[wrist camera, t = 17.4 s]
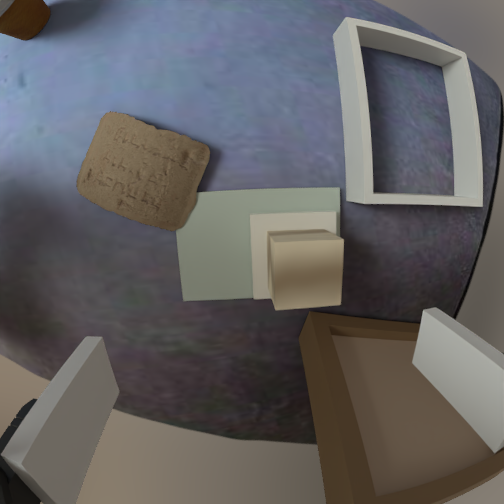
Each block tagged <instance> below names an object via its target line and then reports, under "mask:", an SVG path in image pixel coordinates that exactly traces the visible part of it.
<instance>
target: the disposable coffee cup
mask: <svg viewBox="0 0 504 504" xmlns="http://www.w3.org/2000/svg"><path fill="white" fill-rule="evenodd" d="M49 17H50V9H49V7H48V6H47V5H46V4H45V2H44V1H43V0H0V33H2V34H6V35H9V36H12V37H15V38H18V39H21V40H28V39H31V38H32V37H34V36H35V35H37V34H38V33H39V32H40V31H41V30H42V29H43V27H44V26H45V25H46V23H47V21H48V19H49Z"/></svg>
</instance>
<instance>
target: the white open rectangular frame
mask: <svg viewBox="0 0 504 504" xmlns="http://www.w3.org/2000/svg"><path fill="white" fill-rule="evenodd" d="M333 40H334V47H335V54H336V61H337V69H338V77H339V86H340V95H341V105H342V117H343V130H344V147H345V168H346V201H350V202H356V203H362V204H422V205H454V206H476V207H483V170H482V151H481V138H480V128H479V120H478V113H477V106H476V100H475V94H474V88H473V83H472V78H471V74H470V69H469V65H468V61H467V57H466V53H464V52H462V51H460V50H457V49H455V48H452V47H450V46H447V45H445V44H442V43H440V42H437V41H434V40H432V39H429V38H426V37H423V36H420V35H417V34H414V33H411V32H407V31H404V30H400V29H397V28H393V27H390V26H386V25H382V24H378V23H373V22H369V21H364V20H359V19H354V18H349V17H346V18H345V19H344V21H343V22H342V23H341V25H340V26H339V27H338V29H337V30H336V32H335V33H334V34H333ZM360 46H364V47H369V48H374V49H379V50H384V51H388V52H392V53H397V54H401V55H404V56H408V57H412V58H415V59H419V60H422V61H426V62H429V63H432V64H435V65H438V66H441V67H442V71H443V76H444V81H445V87H446V93H447V99H448V106H449V113H450V121H451V131H452V142H453V158H454V196H452V195H435V194H413V193H382V192H373V165H372V145H371V130H370V118H369V108H368V98H367V90H366V82H365V75H364V68H363V61H362V55H361V49H360Z"/></svg>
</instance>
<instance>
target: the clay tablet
mask: <svg viewBox="0 0 504 504" xmlns="http://www.w3.org/2000/svg"><path fill="white" fill-rule="evenodd" d="M209 155H210V150H209V148H208V146H207V145H205V144H203V143H200V142H197V141H196V140H195V141H192V140H191V138H189V137H187V136H186V135H181V136H180V135H179V134H177V133H176V132H172V131H169V130H158V129H156V128H155V127H154V126H153V125H148V124H145V123H144V122H143V121H140V120H136V119H135V118H134V117H130V116H129V115H128V114H126V115H125V114H122V113H117V112H112V113H111V111H110V112H109V113H106V114H105V115H104V116H103V117H102V118H101V120H100V123H99V126H98V128H97V130H96V133H95V135H94V138H93V140H92V143H91V145H90V147H89V149H88V152H87V154H86V157H85V159H84V161H83V163H82V167H81V170H80V172H79V174H78V178H77V190H78V192H79V193H80V194H81V195H83V197H85V198H86V199H89V200H90V201H91V202H92V203H94V204H95V203H96V204H97V205H99V206H100V207H102V208H104V209H105V210H108V211H114V212H115V213H116V214H118V215H122V216H123V217H127V218H128V219H130V220H136V221H138V222H140V223H143V224H145V225H150V226H154V227H159V228H161V229H166V230H170V231H174V230H176V229H179V228H181V227H182V226H183V225H184V223H185V221H186V219H187V217H188V214H189V213H190V212H191V210H192V209H193V207H194V206H195V204H196V193H197V188H198V185H199V183H200V181H201V178H202V176H203V174H204V171H205V168H206V166H207V164H208V162H209Z"/></svg>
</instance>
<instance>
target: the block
mask: <svg viewBox="0 0 504 504" xmlns="http://www.w3.org/2000/svg"><path fill="white" fill-rule="evenodd" d="M343 253H344V239H342V238H340V237H338V236H336V235H334V234H332V233H331V232H329V231H327V230H325V229H309V230H281V231H267V269H268V289H269V292H270V295H271V299H272V302H273V305H274V308H275V310H287V309H300V308H312V307H324V306H334V305H341V292H342V275H343Z"/></svg>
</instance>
